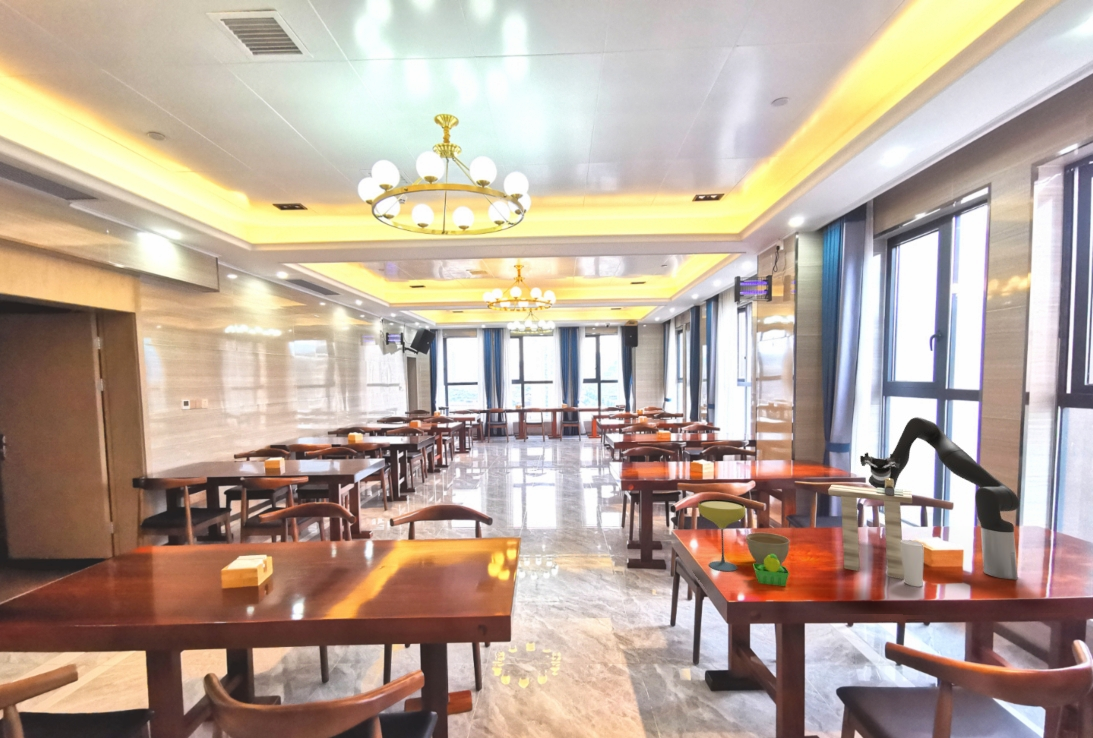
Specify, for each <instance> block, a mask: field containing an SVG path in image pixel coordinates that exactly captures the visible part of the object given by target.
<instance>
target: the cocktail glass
mask: <svg viewBox="0 0 1093 738" xmlns="http://www.w3.org/2000/svg"><path fill="white" fill-rule="evenodd" d="M697 505H698V506H697V507H698V512H699V514H700V515H701V516H702V517H703V518H704V519H707V520H708V521H710V522H712V523H714V524H715V525H716V526H717V527H718V528H719V530H720V531H721V533H720V534H721V560H720V561H719V560H715V561H710V562H709V564H708V567H710V568H711V569H713V570H715V569H716V570H715V571H719V570H720V571H721V572H734V571H735V572H736V570H738V566H737V565H736V564H734V563H731V562H728V561H726V559H725V551H724V530H725V529H726V528H727V526H729V525H731V524H733V523H736V522H738V521H740V520H742V519H743V518H744V517H745V516H746V506H745V504H743V503H741V502H739V501H735V500H729V499H727V500H726V499H704V500H699V502H698V504H697Z"/></svg>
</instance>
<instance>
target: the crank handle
mask: <svg viewBox="0 0 1093 738" xmlns="http://www.w3.org/2000/svg"><path fill="white" fill-rule="evenodd" d="M885 494H887V495H894V480H893V479H890V478H885Z"/></svg>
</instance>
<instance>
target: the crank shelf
mask: <svg viewBox="0 0 1093 738" xmlns="http://www.w3.org/2000/svg"><path fill="white" fill-rule="evenodd" d="M827 491H828V496H835V497H840V503H841V521H842V522H841V524H842V529H841V530H842V546H843V551H842V552H843V568H844V569H846V570H852V571H855V572H856V571H857V572H860V571H861V561H860V541H859V539H860V538H859V518H858V515H859V514H858V499H863V500H873V501H882V502H883V511H884V527H885V529H884V530H885V531H884V532H885V548H886V567H887V568H886V569H887V577H889V578H894V579H900V580H904V572H903V565H902V559H901V552H900V541H901V540H903V533H902V530H903V529H902V514H901V513H902V511H901V503H904V504H910V505H911V504H913V496H912V491H909V490H908V491H907V490H903V489H896V488H895V489H894V495H887V494H885V488H875V487H864V486H863V487H862V486H855V485H853V486H852V485H845V484H843V485H841V484H831V485H830V487H829V488H828V489H827Z"/></svg>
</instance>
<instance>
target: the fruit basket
mask: <svg viewBox="0 0 1093 738" xmlns="http://www.w3.org/2000/svg"><path fill="white" fill-rule="evenodd" d="M752 565H753V566H752V567H753V569H754V572H755V573H754V574H755V577H756V579H757V582H758V583H759V584H761V585H764V584H765V585H772V586H773V585H774V586H783V587H786V585H787V582H788V578H789V576H790V572H789V571H788V569H787V567H786V566H783V565H782V566H780V562H779V560H778V558H777V557H776V555H774V554H770V555H768V556H767V557H766V558H765V559H764V564H756V563H752Z"/></svg>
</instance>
